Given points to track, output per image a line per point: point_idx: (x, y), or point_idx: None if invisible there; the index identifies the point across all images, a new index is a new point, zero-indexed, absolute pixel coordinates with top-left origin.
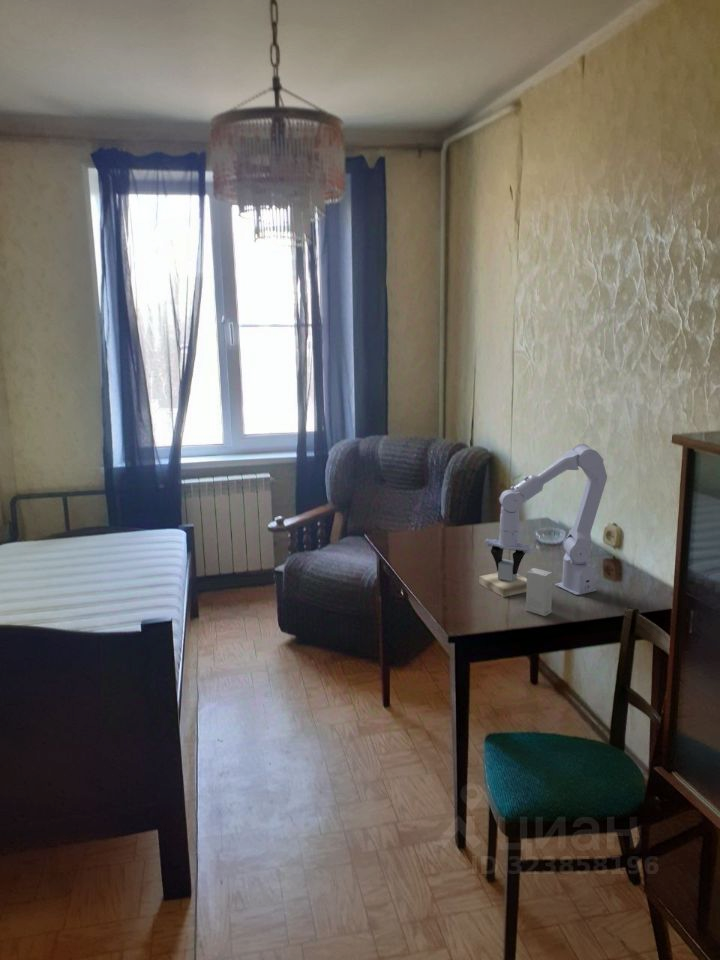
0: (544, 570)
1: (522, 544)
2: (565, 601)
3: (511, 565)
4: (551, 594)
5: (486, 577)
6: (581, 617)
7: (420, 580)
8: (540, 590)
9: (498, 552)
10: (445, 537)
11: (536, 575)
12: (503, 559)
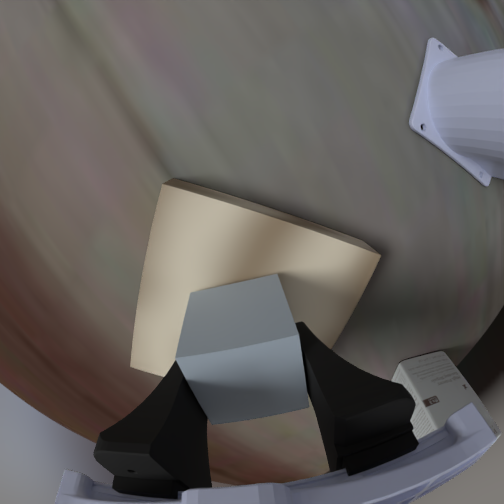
0: None
1: (409, 484)
2: (467, 256)
3: (299, 407)
4: (468, 387)
5: (159, 361)
6: (493, 314)
7: (45, 400)
8: None
9: (206, 487)
10: None
11: None
12: (180, 365)
